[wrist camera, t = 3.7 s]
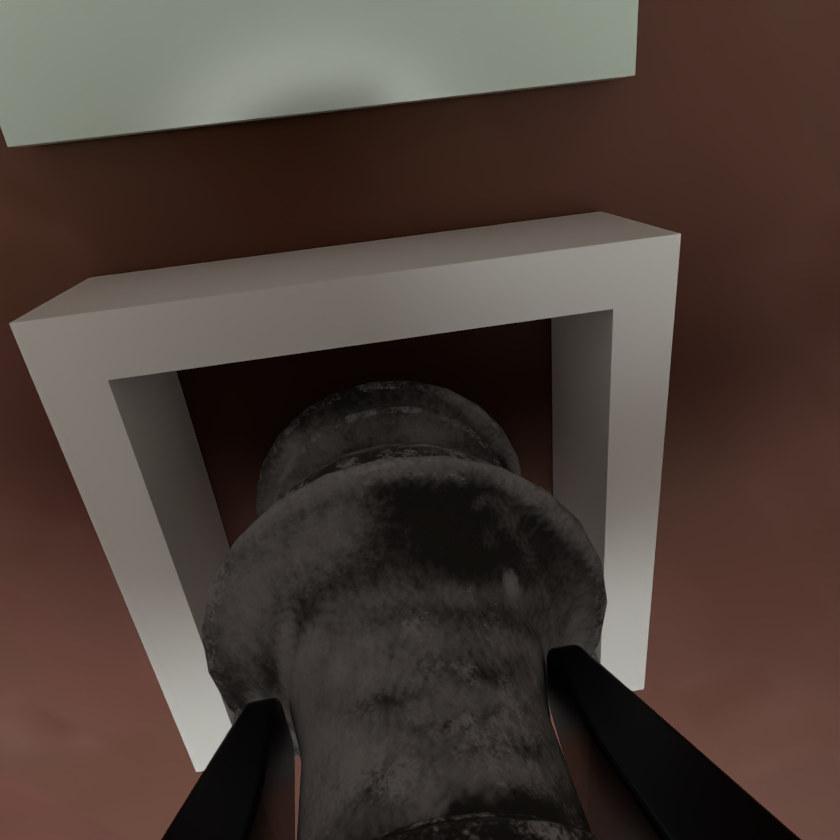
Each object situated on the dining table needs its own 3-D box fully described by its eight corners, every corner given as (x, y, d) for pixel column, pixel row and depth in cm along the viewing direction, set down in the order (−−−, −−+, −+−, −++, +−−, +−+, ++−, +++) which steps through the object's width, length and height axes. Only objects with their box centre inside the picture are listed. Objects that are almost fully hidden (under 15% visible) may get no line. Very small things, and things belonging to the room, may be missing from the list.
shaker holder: (600, 210, 12) (681, 233, 9) (591, 594, 16) (643, 688, 13) (89, 277, 11) (8, 322, 8) (221, 658, 15) (196, 772, 12)
